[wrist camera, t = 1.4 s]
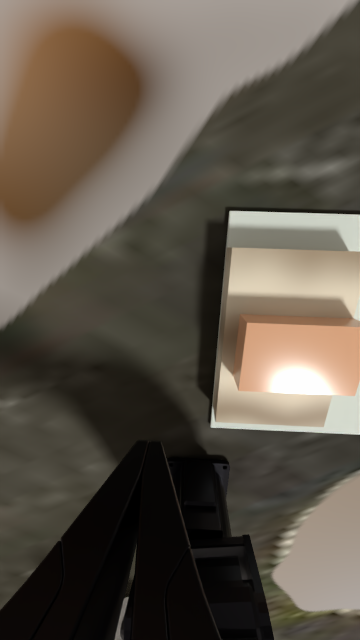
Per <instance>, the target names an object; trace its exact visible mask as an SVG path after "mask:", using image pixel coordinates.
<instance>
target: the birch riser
mask: <svg viewBox="0 0 360 640" xmlns="http://www.w3.org/2000/svg"><path fill="white" fill-rule="evenodd" d="M359 296H360V252H356V251H325V250H294V249H263V248H227V252H226V263H225V274H224V285H223V297H222V308H221V319H220V330H219V342H218V353H217V364H216V375H215V386H214V398H213V410H214V416H215V422H222V423H243V424H265V425H286V426H308V427H324V424H325V420H326V417H327V413H328V410H329V406H330V402H331V399H332V395H317V394H295V393H272V392H249V391H238V388H237V386H236V383H235V380H234V377H233V370H234V362H235V353H236V344H237V336H238V327H239V318H240V314H251V315H277V316H303V317H330V318H354V315H355V311H356V307H357V304H358V300H359Z"/></svg>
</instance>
